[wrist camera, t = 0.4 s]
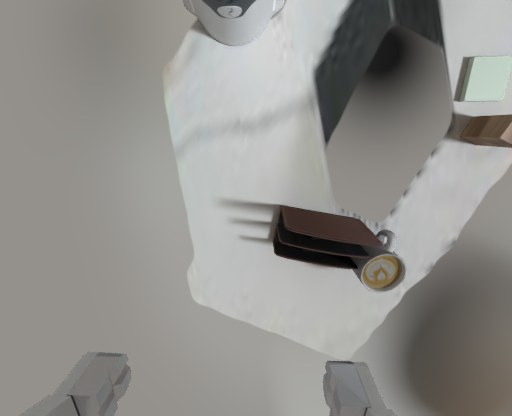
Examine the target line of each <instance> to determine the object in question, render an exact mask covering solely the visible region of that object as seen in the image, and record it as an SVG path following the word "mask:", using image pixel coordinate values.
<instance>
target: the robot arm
mask: <svg viewBox="0 0 512 416" xmlns="http://www.w3.org/2000/svg"><path fill="white" fill-rule="evenodd" d="M183 2H184V5H185V7H186V9H188V10H189V11H190V12H191V13H193V14H194V15H195V16H197V17H198V19H199V20H200V21H201V23H202V25H203V26H204V28H205V29H206V30H207V32H208V33H209V34H210V35H211V36H212V37H213V38H215V39H216V40H218V41H219V42H221V43H224V44H227V45H234V46H236V45H243V44H246V43H249V42H251V41H252V40H254V39H255V38H256V37H258V36H259V35H260V34H261V32H262V31H263V30H264V28H265V27H266V25H267V23H268V21H269V19H270V18H271V16H272V15H273V14H275V13H276V12H277V11H278V10H280V9H281V8H282V6H283V5H284V0H183ZM127 361H128V357H127V354H118V353H102V352H87V353H86V354H85V355H84V356H82V358H81V359H80V360H79V362H78V363H77V364H76V366H75V367H74V368H73V369H72V371H71V372H70V373H69V374H68V376H67V377H66V378H65V380H64V381H63V382H62V384H61V385H60V386H59V388H58V389H57V390H56V391H55V393H54V394H53V395H48V396H47V397H45V398H44V399H42V400H41V401H39V402H38V403H37V404H35V405H34V406H32V407H31V408H30V409H28V410H26V411H25V412H24V413H22V414H21V415H19V416H114V414H115V412H116V410H117V401H118V400H119V399H120V398H121V397H122V396H124V394H125V392H126V390H127V388H128V386H129V382H130V379H131V370H130V367H129V366H128V365H127V364H126V363H127ZM325 368H326V372H327V373H326V374H325V375H324V379H323V388H324V396H325V400H326V404H327V405H328V406H329V407H330V409H331V410H330V416H397V415H396V414H395V413H394V412H393V411H392V410H391V409H387V408H386V406H385V403H384V401H383V399H382V397H381V394H380V392H379V390H378V387H377V385H376V383H375V381H374V378H373V376H372V374H371V372H370V369H369V367H368V365H367V364H366V363H365V362H350V361H327V362H326V366H325Z"/></svg>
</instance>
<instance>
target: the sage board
mask: <svg viewBox="0 0 512 416" xmlns="http://www.w3.org/2000/svg"><path fill="white" fill-rule="evenodd" d="M511 70H512V56H490V57H473V58H469V63H468V67H467V71H466V75H465V80H464V84H463V88H462V92H461V97H460V101H459V102H477V101H503V97H504V94H505V91H506V87H507V84H508V80H509V77H510V73H511Z"/></svg>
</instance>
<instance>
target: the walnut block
mask: <svg viewBox="0 0 512 416" xmlns="http://www.w3.org/2000/svg"><path fill="white" fill-rule="evenodd" d="M460 137H462V138H464V139H466V140H467V141H469V142H471V143H473V144H475V145H482V146H496V147H510V148H512V115H494V116H477V117H473V118H472V120H471V121H470V123H469V124H468V126H467V127H466V128H465V130H464V131H463V133H462V134H461V136H460Z"/></svg>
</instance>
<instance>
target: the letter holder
mask: <svg viewBox="0 0 512 416" xmlns="http://www.w3.org/2000/svg"><path fill="white" fill-rule="evenodd" d="M361 245H368V246H383V244H382V242H381V241H380V240H379V239H378V238H377V237H376V236H375V235H374V233H373V232H372V231H371V230H370V229H369V228H367V227H366V226H365V224H363V222H362V221H361V220H359V219H354V218H348V217H343V216H337V215H332V214H326V213H321V212H315V211H310V210H304V209H299V208H293V207H288V206H283V205H281V207H280V212H279V216H278V220H277V225H276V229H275V234H274V238H273V246H274V253H275V254H276V255H277V256H280V257H283V258H287V259H292V260H297V261H302V262H306V263H312V264H318V265H323V266H330V267H337V268H344V269H358V266H357V265H356V264H355V263H354V262H353V260H352V259H351V258H350V257H359V258H369V257H370V256H369V254H368V253H367V252H366V251H365V250H364V248H363V247H362V246H361ZM349 256H350V257H349Z"/></svg>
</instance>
